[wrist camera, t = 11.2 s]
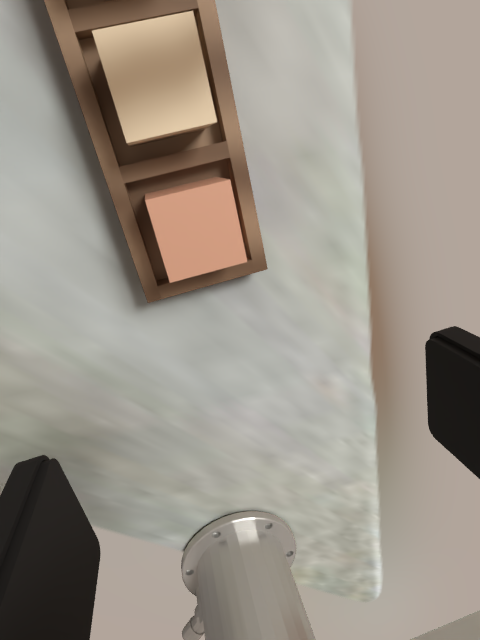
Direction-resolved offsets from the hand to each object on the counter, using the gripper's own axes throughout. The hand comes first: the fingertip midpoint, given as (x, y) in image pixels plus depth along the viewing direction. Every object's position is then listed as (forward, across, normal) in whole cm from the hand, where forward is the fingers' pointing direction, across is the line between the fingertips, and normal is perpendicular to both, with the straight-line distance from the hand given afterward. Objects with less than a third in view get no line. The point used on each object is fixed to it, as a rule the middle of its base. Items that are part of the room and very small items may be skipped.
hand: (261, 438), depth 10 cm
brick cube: (+21, -1, -3) cm, 21 cm away
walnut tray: (+22, -1, -11) cm, 24 cm away
